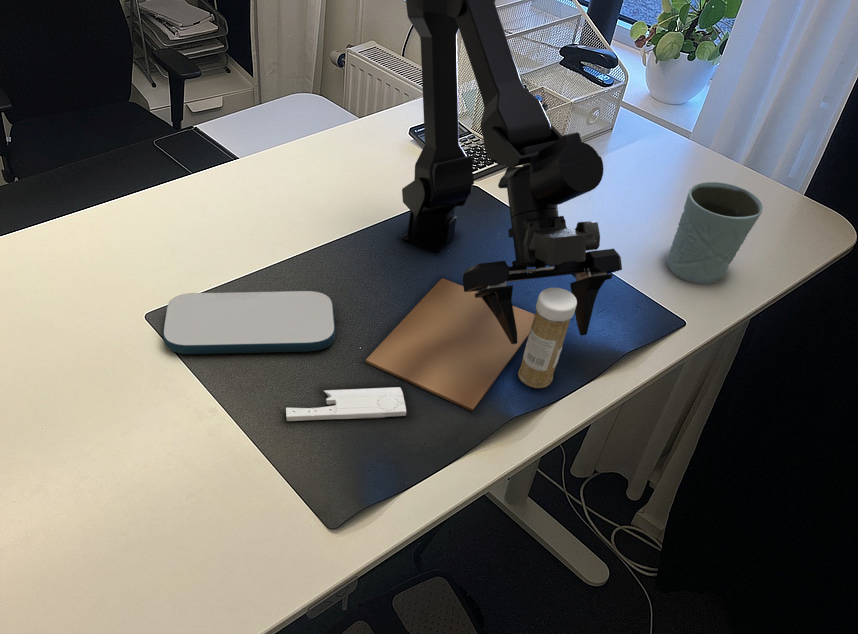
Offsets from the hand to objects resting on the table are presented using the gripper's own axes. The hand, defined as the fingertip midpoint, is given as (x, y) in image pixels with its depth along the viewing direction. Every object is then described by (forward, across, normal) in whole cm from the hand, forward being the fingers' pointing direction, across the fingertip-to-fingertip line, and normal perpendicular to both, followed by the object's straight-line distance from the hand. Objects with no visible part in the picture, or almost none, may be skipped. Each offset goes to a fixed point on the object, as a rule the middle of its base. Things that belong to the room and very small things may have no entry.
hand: (549, 339), depth 94 cm
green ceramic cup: (-8, +34, +19) cm, 40 cm away
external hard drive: (-7, -36, +18) cm, 40 cm away
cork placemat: (-2, -8, +12) cm, 15 cm away
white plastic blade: (+5, -26, +6) cm, 27 cm away
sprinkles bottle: (+5, 0, +6) cm, 8 cm away
